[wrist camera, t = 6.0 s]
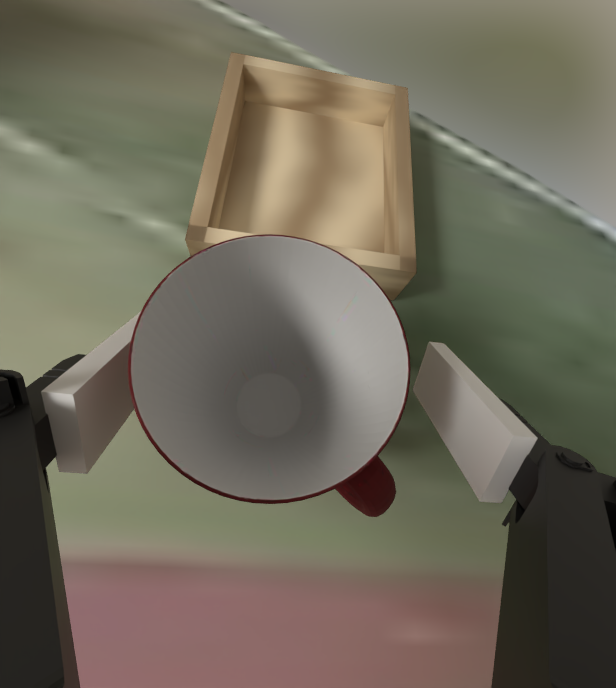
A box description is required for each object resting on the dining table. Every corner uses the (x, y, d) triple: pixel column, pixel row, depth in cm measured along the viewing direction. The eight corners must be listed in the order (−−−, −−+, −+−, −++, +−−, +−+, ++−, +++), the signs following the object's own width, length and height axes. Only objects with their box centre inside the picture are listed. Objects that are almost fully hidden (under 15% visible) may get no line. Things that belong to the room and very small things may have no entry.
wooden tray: (197, 274, 21) (185, 239, 18) (234, 102, 26) (231, 52, 23) (393, 300, 22) (416, 272, 19) (390, 132, 28) (407, 87, 24)
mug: (398, 423, 19) (525, 387, 10) (315, 549, 17) (385, 663, 7) (262, 314, 21) (263, 191, 11) (163, 415, 18) (55, 364, 8)
